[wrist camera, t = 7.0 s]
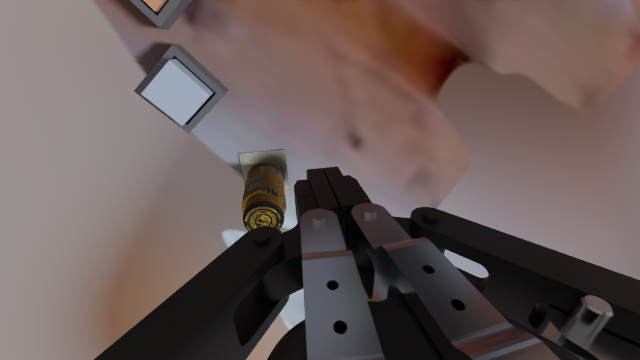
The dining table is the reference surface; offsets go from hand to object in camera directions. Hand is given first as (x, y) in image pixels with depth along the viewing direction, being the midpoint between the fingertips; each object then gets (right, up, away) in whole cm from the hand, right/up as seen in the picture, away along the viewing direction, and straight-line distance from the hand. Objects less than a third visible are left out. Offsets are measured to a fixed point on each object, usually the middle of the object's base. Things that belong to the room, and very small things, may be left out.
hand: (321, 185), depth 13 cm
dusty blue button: (-18, +12, +21) cm, 30 cm away
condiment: (-9, +1, +31) cm, 32 cm away
